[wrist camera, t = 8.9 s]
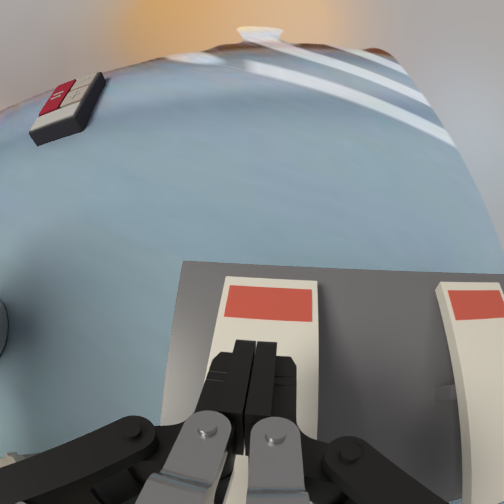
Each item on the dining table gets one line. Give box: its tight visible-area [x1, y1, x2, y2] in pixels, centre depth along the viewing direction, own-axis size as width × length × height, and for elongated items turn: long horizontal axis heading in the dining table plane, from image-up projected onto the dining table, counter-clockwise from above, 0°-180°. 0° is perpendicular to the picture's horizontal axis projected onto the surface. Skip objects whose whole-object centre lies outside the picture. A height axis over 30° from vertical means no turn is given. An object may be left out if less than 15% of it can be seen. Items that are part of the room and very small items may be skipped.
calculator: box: [29, 72, 106, 146], centre depth 45 cm, size 11×4×15 cm
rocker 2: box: [435, 282, 504, 504], centre depth 14 cm, size 6×16×1 cm, turn 175°
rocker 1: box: [204, 276, 319, 504], centre depth 15 cm, size 6×16×1 cm, turn 175°
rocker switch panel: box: [160, 261, 504, 502], centre depth 20 cm, size 28×18×10 cm, turn 85°
